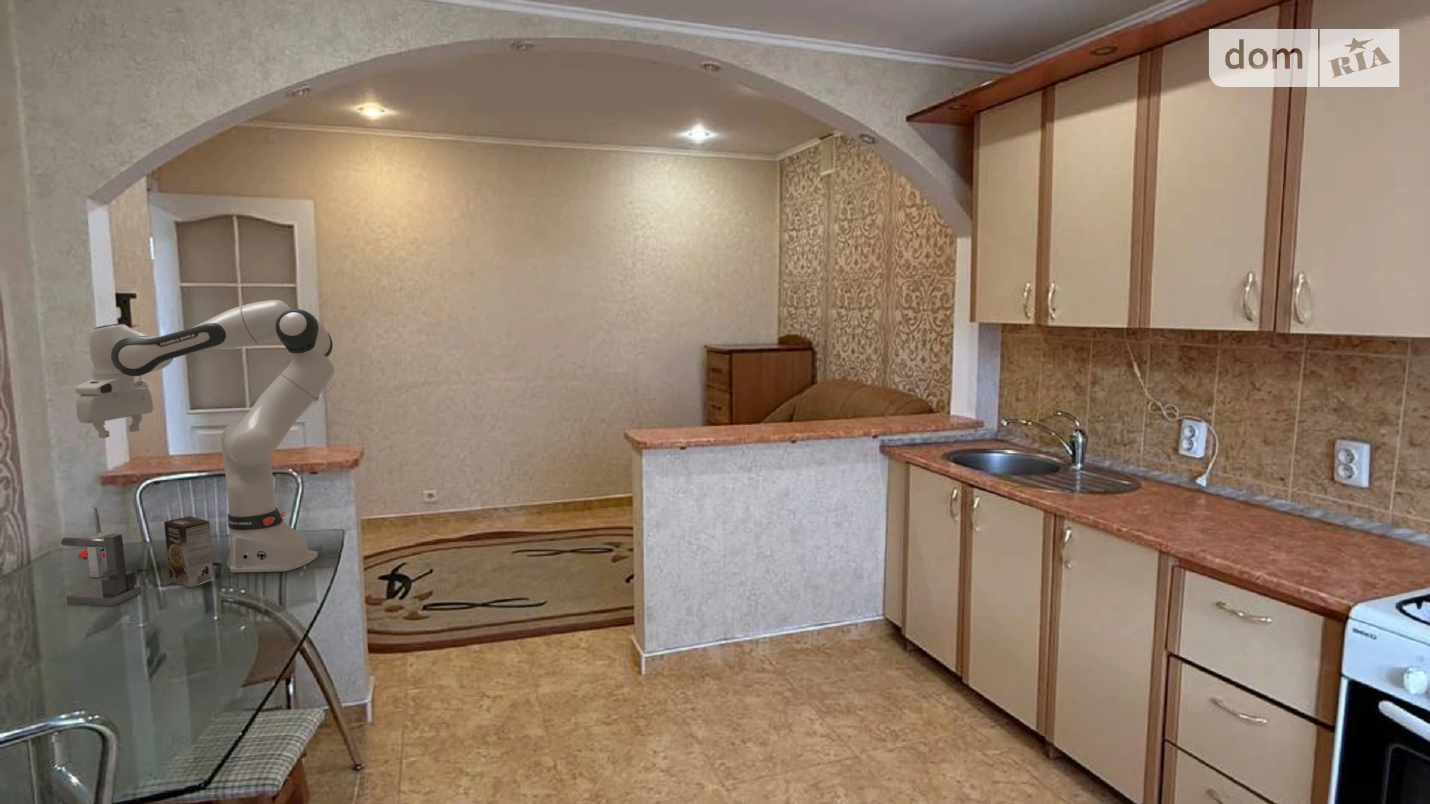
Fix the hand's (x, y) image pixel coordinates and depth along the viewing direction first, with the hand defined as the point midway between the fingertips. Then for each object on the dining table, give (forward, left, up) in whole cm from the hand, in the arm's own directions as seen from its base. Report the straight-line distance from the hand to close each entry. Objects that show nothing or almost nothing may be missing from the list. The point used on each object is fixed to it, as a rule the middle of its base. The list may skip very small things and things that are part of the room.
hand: (119, 434), depth 211 cm
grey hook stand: (-17, +27, -35) cm, 47 cm away
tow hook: (+13, -2, -36) cm, 38 cm away
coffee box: (-30, +14, -35) cm, 48 cm away
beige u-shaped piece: (-3, +12, -35) cm, 37 cm away
